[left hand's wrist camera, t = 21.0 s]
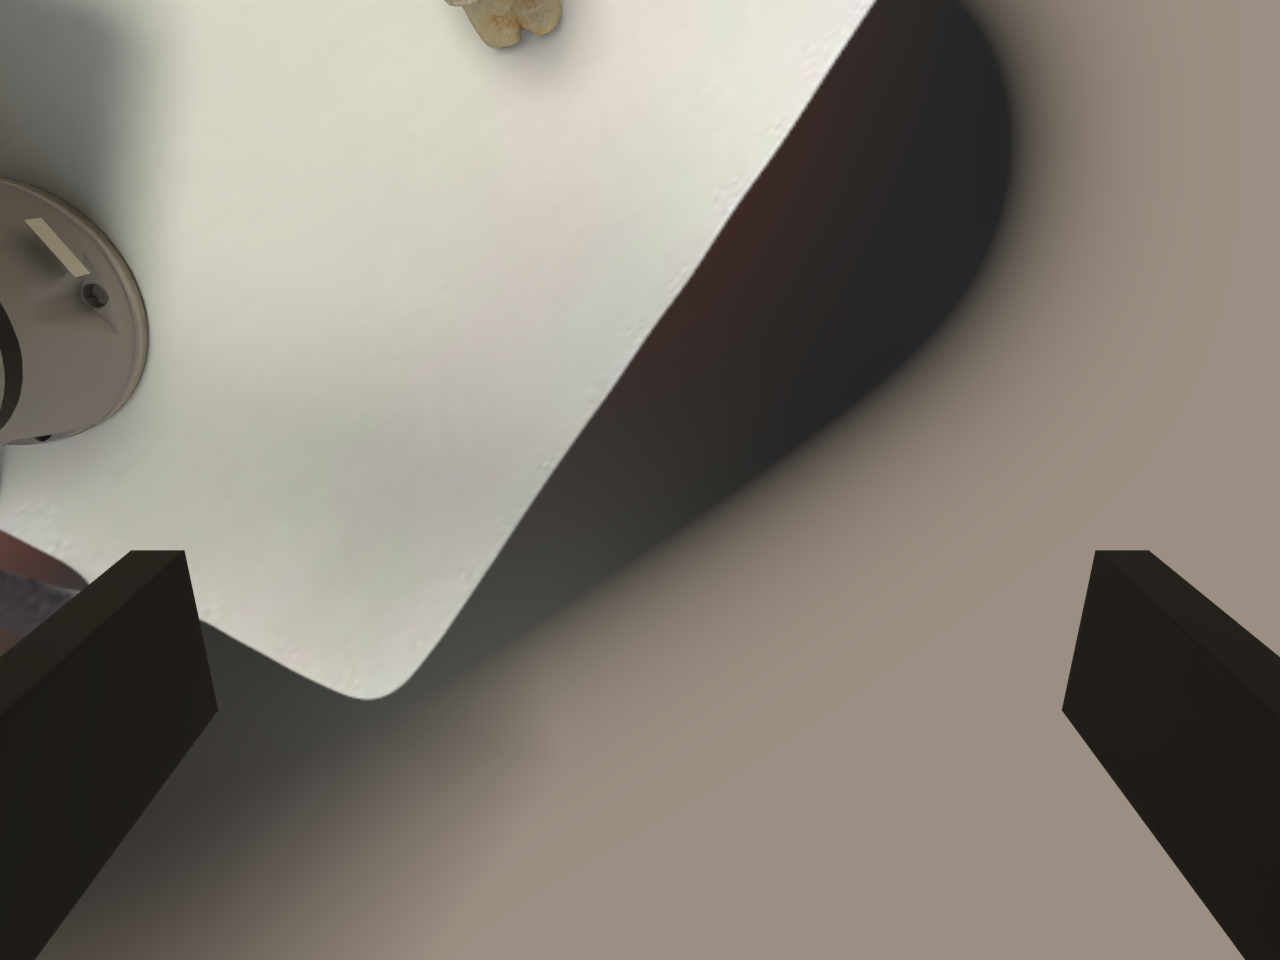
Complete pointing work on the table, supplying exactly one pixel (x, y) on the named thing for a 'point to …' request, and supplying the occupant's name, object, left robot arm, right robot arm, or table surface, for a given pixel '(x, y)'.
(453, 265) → the table surface
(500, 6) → the sculpture
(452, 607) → the table surface
